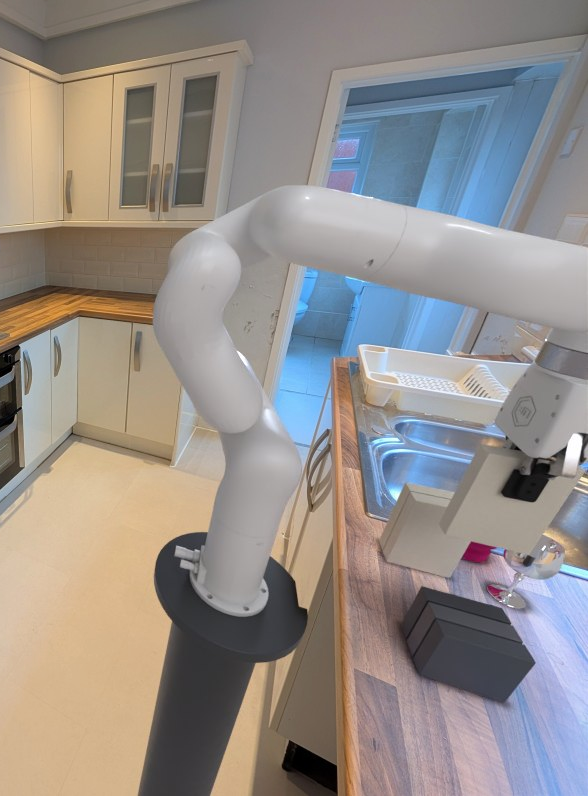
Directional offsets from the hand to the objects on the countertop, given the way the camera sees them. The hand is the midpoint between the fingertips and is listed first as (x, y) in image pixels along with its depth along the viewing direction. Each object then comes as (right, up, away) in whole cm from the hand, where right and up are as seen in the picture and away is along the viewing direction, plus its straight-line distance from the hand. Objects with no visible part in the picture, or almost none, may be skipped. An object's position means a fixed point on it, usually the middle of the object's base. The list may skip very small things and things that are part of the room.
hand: (510, 489), depth 56 cm
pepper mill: (+16, -17, +23) cm, 33 cm away
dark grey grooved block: (-4, -25, +4) cm, 26 cm away
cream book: (0, -8, +4) cm, 9 cm away
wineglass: (+14, -21, +14) cm, 29 cm away
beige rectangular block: (+5, -18, +21) cm, 28 cm away
